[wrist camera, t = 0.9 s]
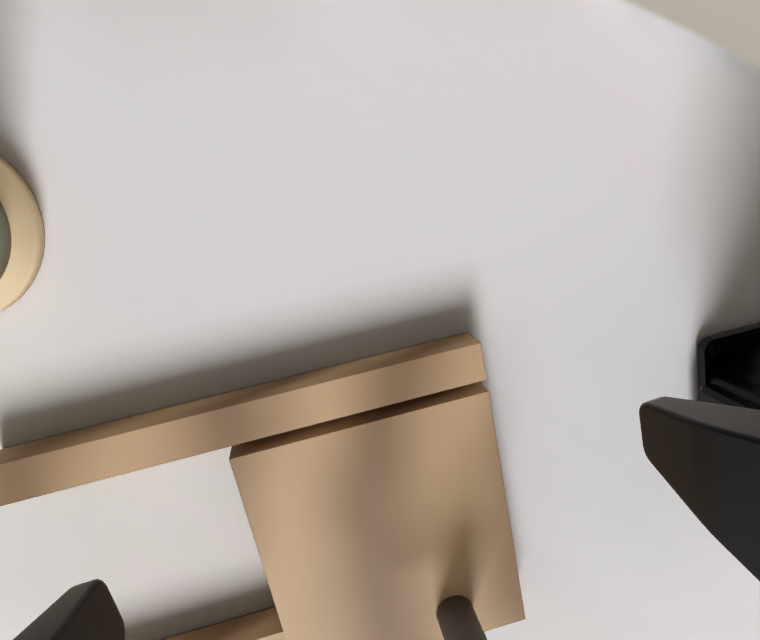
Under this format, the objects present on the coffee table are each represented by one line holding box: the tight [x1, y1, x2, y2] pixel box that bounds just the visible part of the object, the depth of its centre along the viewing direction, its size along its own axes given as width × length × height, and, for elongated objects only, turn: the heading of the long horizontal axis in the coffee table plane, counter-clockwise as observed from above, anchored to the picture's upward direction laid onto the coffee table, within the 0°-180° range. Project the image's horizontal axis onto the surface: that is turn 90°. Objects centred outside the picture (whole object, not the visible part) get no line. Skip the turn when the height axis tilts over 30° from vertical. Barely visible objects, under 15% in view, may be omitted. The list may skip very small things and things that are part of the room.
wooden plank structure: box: [0, 332, 525, 640], centre depth 20 cm, size 18×13×6 cm
